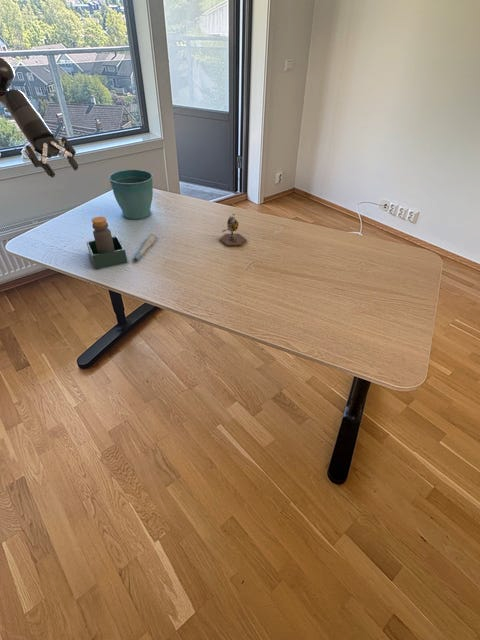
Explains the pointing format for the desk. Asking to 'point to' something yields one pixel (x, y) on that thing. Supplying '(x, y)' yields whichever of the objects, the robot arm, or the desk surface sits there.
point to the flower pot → (133, 192)
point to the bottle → (102, 235)
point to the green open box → (107, 254)
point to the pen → (145, 245)
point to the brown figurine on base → (232, 238)
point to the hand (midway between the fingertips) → (65, 172)
